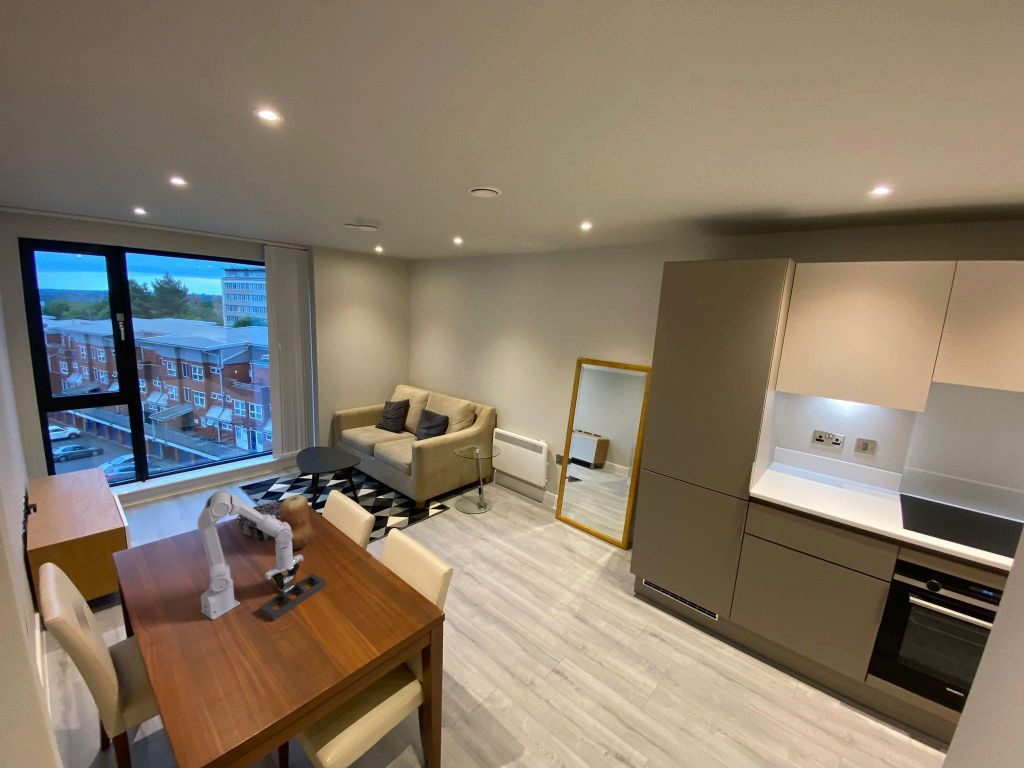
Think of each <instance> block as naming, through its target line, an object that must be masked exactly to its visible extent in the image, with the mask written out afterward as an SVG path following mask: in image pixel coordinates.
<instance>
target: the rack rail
mask: <svg viewBox="0 0 1024 768" xmlns="http://www.w3.org/2000/svg"><path fill="white" fill-rule="evenodd" d="M309 584H313V586H311V587H309V588H305V587H306V586H309ZM304 586H305V587H304ZM325 587H327V580H326V579H324V578H322V577H320V576H319V575H317V574H314V573H311V574H309V575H308V576H306V577H305V578H303V579H301V580H300V581H298V582H297V583H294V585H293V586H292V587H290V588H289V589H287V590H285V591H284V592H282V591H281V592H280V593H279V594H277V595H276V596H274V597H272V598H271V599H270V600H268V601H266V602H265V603H263V604H261V605H260V606H259V613H260V614H262V615H263V616H264V617H267V618H268V619H269V620H271V621H273V622H275V621H276V620H278V619H279V618H280V617H282V616H283V615H285V614H286V613H288V612H289V611H290V610H292V609H293V608H295V607H297V606H299V605H300V604H301V603H302V602H305V600H307V599H309V598H310V597H311V596H313V595H315V593H316V594H317V593H318V592H319V591H321V590H322V589H323V588H325ZM295 593H298V594H299V595H297V596H295V597H294V598H293V599H292V598H291V597H290V596H292V595H294V594H295ZM279 603H282V604H283V605H282V606H281V607H279V608H277V609H275V608H273V607H275V606H277V605H278V604H279Z"/></svg>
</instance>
